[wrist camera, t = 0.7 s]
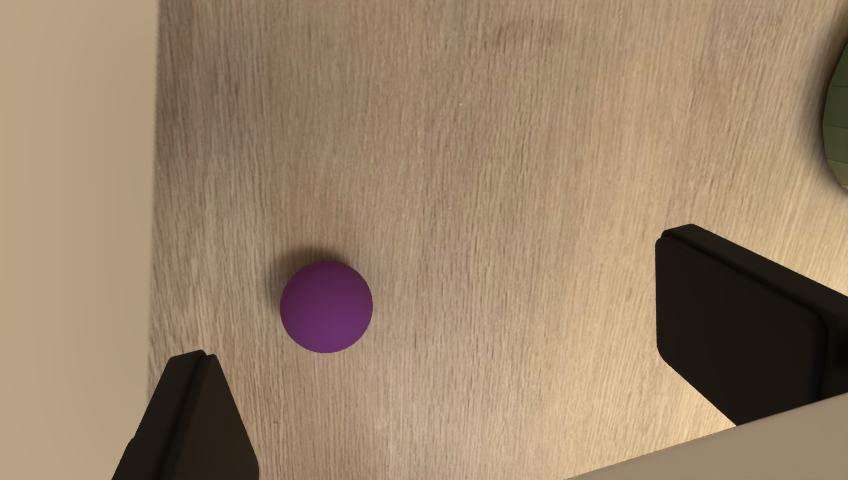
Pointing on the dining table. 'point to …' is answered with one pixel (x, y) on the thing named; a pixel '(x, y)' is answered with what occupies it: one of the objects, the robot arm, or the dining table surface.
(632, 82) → the dining table surface
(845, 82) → the bowl
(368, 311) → the ball
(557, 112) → the dining table surface
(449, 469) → the dining table surface
